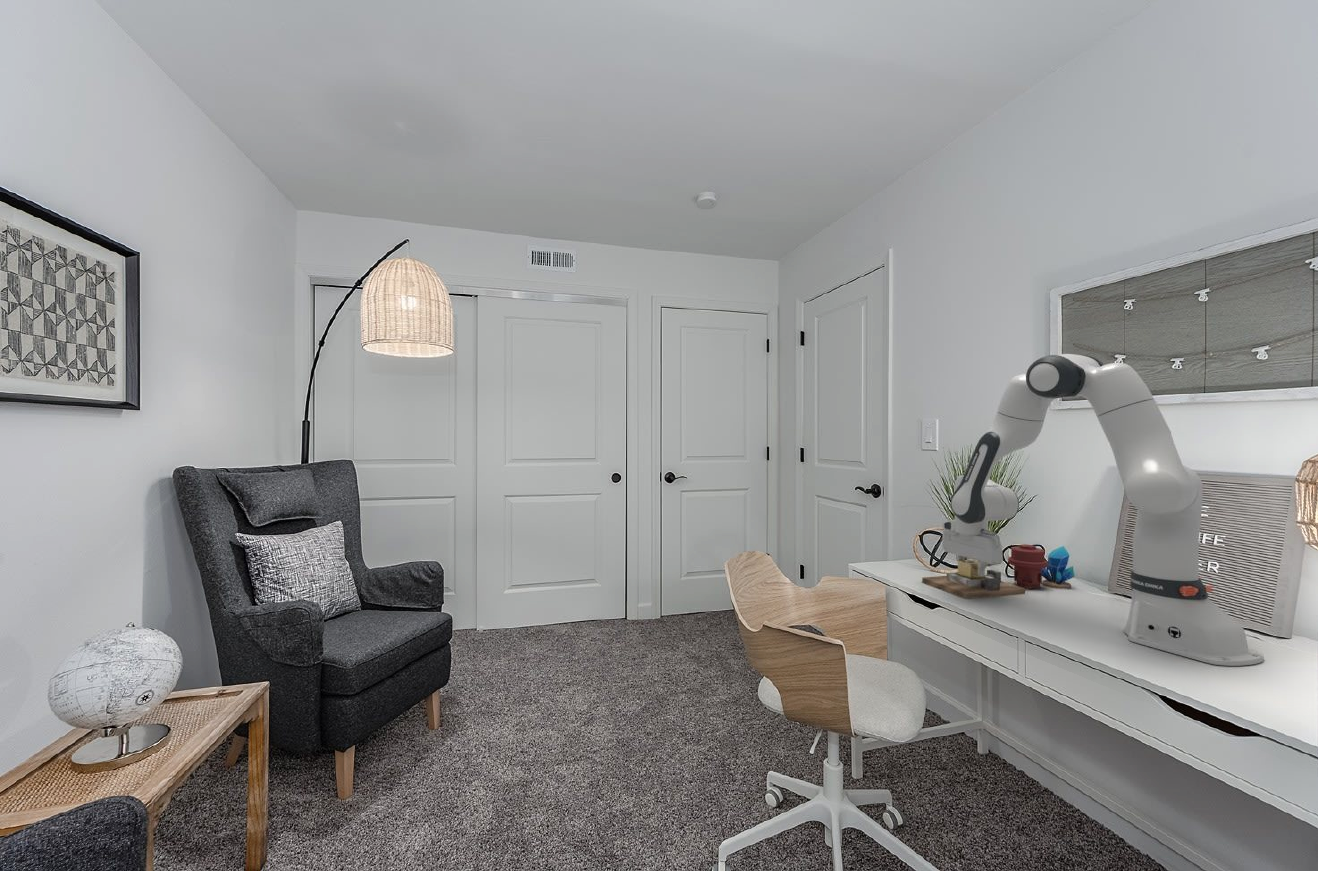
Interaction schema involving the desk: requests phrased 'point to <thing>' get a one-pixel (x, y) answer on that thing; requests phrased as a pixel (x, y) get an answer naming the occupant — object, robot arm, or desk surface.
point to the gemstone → (1058, 569)
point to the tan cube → (968, 569)
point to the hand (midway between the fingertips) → (971, 573)
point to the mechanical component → (1027, 565)
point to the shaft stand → (974, 585)
